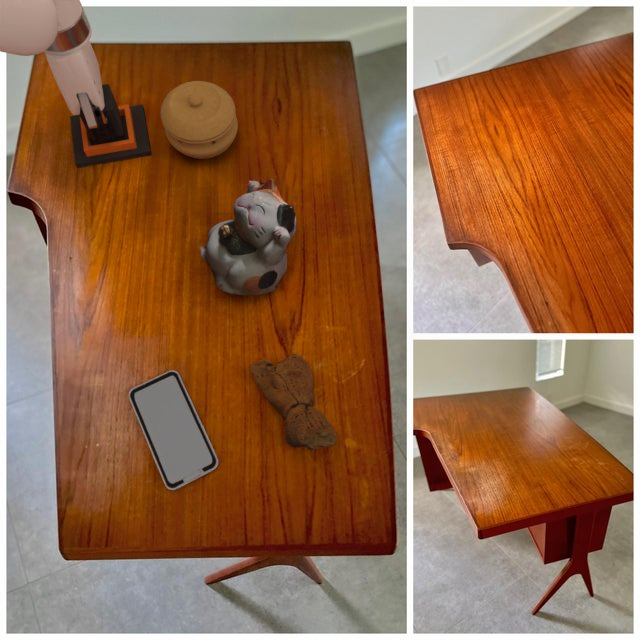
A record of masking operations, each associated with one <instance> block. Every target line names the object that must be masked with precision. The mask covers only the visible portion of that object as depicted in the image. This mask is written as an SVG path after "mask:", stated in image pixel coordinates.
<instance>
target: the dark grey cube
mask: <svg viewBox="0 0 640 640" xmlns="http://www.w3.org/2000/svg"><path fill="white" fill-rule="evenodd" d="M102 88H103V96H104V104H105V107H104V109H103V110H104V112H105V115H106V118H108V117H109V119H110V121H111V123H112V126H113V128H114V130H115V132H116V135H117V136H123V129H122V122H121V116H120V111H119V108H118V106H119V105H118V103H117V101H116V97H115V96H114V93H113V91H112V88H111V86H110V84H109V83H106V84H102ZM94 113H95V116H96V117H97V116H101V115H100V113H99V110H94ZM79 116H80V118H81V120H82V122H83V124H84V126H85V128H86V130H87V132H88V134H89V136H90V138H91V140H96V139H95V137H94V135H93V133H92V131H91V129H89V127H88V124H87V121H86V118H85V116H84V113H83V111H82V109H81V106H80V115H79Z"/></svg>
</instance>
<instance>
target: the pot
mask: <svg viewBox="0 0 640 640" xmlns="http://www.w3.org/2000/svg"><path fill="white" fill-rule="evenodd" d="M160 119H161V123H162V126H163V129H164V134H165V137H166V139H167V141H168V143H170V145H171V146H172V147H173V148H174V149H175V150H177V151H178V152H179V153H181V154H182V155H184V156H187V157H190V158H192V159H198V160H208V159H211V158H215V157H218V156H220V155H221V154H223V153H224V152H226V151H227V150H228V149H229V147H230V146H232V145H233V142H234V140H235V138H236V137H237V133H238V129H239V121H238V117H237V110H236V105H235V103H234V99H233V98H232V97H231V95H230V94H229V93H228V92H227V91H226V90H225V89H224V88H222V87H221V86H219V85H217V84H215V83H212V82H210V81H204V80H191V81H187V82H183V83H180V84H179V85H177V86H175V87H174V88H173V89H171V91H169V92H168V93H167V95H166V96H165V97H164V100H163V101H162V103H161V107H160Z"/></svg>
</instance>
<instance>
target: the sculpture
mask: <svg viewBox="0 0 640 640" xmlns="http://www.w3.org/2000/svg"><path fill="white" fill-rule="evenodd" d="M248 370H249V373H250V375H251V376H252V377H253V378H254V381H255V383H256V387H258V389H259V390H260V391H261V392H262V393H263V396H264V397H265V399H266V400H267V401H268V403H269V404H270V405H271V406H272V407H273V408H274V409H275V410H277V411H278V412H279V413H280V414H281V415H282V417H283V419H284V420H285V422H284V423H285V436H284V439H285V442H286V443H287V444H288V445H289V447H291V448H295V449H296V448H297V449H302V448H305V449H306V450H309V451H313V450H317V449H320V448H330V447H333V446H335V445H336V443H337V441H338V436H337V433H336V431H335V430H334V427H333V425H332V424H331V423H330V422H329V420H328V418H327V417H326V415H324V413H323V412H321V411H320V410H318V409H317V408H315V407H314V405H315V395H314V374H313V372H312V370H311V367H310V365H309V364H308V362H307V361H306V359H305V358H304V357H302V356H301V355H298V354H297V353H292V354H291V355H289V356H288V357H286V358H285V359H283V360H280V361H278V363H275V366H274V364H272V363H271V362H270V361H269V360H267V359H265V360H261V361H260V362H259V363H256V364H253V363H251V364H249V366H248Z"/></svg>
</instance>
